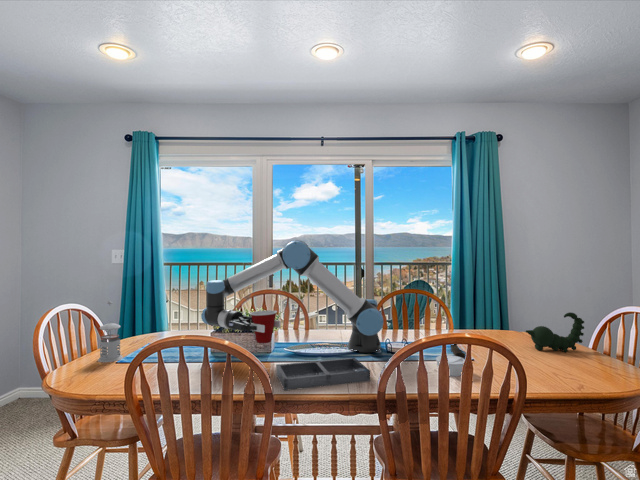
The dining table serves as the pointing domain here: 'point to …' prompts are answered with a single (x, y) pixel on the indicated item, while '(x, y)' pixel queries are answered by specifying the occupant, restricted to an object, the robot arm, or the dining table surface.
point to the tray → (321, 373)
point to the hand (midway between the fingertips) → (272, 326)
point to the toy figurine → (557, 336)
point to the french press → (110, 343)
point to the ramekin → (453, 364)
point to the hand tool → (457, 351)
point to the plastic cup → (264, 319)
